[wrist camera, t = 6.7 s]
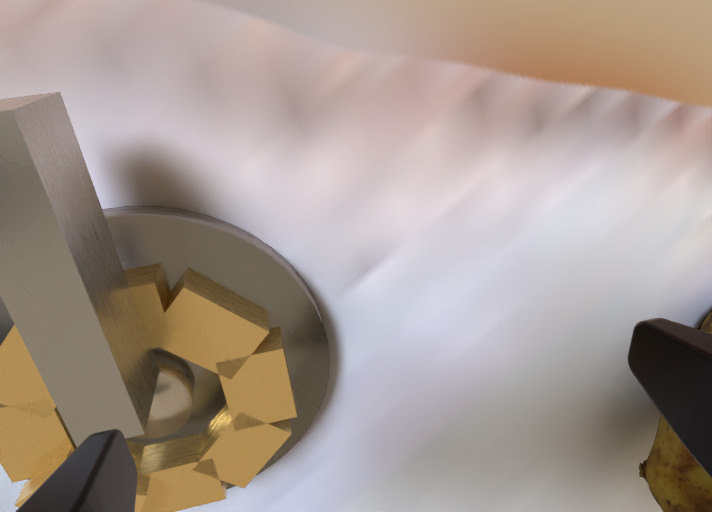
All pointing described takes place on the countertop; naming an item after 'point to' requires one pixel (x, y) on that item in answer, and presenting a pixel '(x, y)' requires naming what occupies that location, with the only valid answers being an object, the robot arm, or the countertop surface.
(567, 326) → the countertop surface
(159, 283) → the tan curved piece
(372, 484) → the countertop surface
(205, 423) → the round metal dish
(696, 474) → the potato
